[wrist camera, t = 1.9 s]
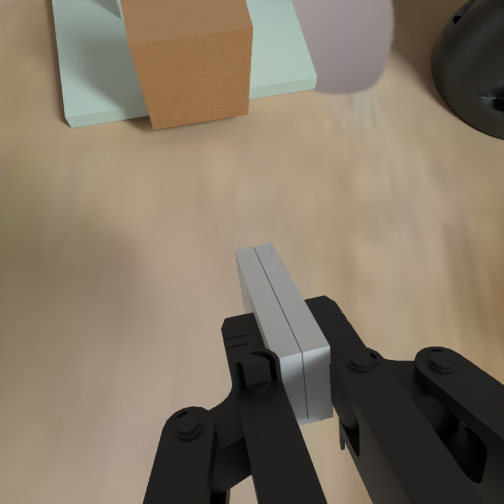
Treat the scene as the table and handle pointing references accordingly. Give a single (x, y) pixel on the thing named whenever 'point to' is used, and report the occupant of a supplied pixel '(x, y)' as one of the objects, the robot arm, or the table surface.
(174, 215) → the table surface
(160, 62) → the cardboard box
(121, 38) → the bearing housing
